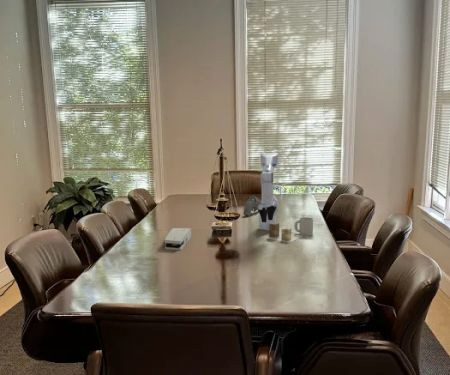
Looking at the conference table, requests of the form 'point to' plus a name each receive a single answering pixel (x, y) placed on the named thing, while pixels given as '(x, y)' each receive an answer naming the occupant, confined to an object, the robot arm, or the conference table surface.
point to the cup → (304, 226)
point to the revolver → (251, 205)
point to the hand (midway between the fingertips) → (267, 221)
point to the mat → (293, 237)
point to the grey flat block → (177, 238)
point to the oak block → (286, 234)
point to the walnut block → (273, 230)
